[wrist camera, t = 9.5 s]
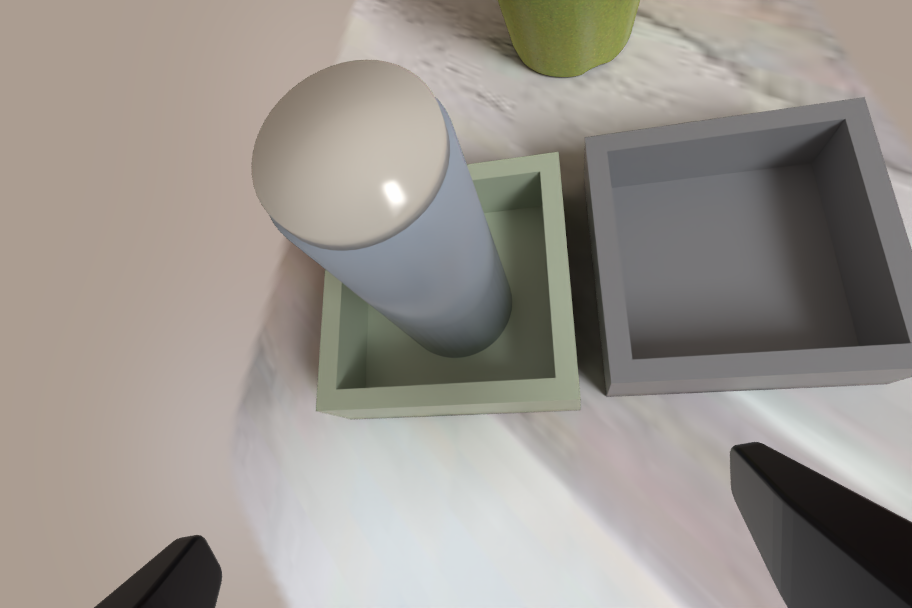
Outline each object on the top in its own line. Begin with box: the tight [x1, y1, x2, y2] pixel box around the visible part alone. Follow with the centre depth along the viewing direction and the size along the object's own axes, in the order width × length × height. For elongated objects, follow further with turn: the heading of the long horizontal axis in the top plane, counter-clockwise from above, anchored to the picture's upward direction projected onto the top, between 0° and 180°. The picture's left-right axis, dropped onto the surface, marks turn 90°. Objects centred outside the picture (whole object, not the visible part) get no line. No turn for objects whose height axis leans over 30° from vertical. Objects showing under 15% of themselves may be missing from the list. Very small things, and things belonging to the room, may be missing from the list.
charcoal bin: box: [584, 97, 912, 397], centre depth 21 cm, size 10×10×4 cm
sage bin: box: [316, 152, 581, 419], centre depth 23 cm, size 10×10×4 cm
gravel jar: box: [252, 60, 512, 358], centre depth 18 cm, size 5×5×12 cm
